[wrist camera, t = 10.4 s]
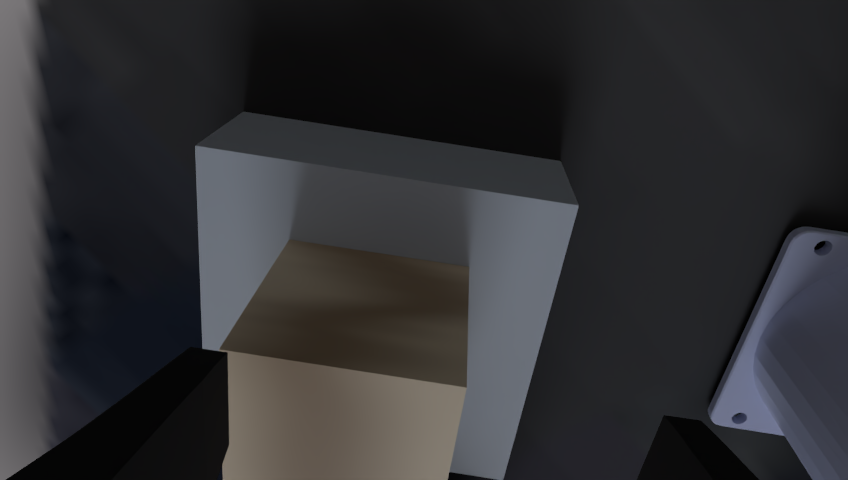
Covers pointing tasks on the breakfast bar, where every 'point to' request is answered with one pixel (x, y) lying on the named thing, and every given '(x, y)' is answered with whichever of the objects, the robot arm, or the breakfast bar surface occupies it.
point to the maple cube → (348, 368)
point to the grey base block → (394, 240)
